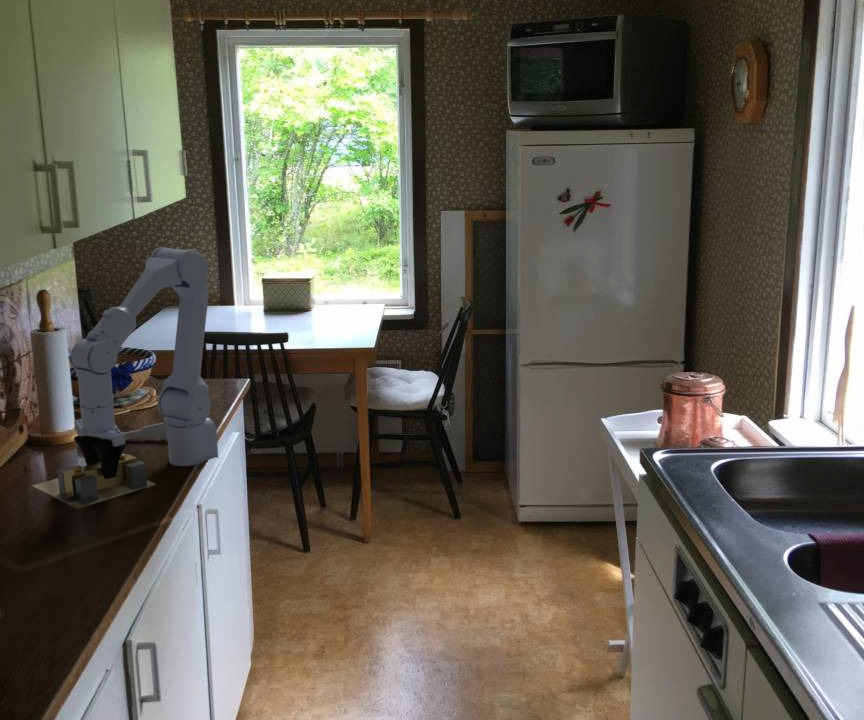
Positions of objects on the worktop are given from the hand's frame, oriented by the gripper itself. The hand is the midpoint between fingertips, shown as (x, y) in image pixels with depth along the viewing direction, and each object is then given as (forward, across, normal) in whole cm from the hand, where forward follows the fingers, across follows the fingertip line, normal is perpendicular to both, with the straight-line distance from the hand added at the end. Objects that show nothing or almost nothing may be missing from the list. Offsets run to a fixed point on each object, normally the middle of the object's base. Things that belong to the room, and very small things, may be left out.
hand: (102, 474), depth 169 cm
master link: (+2, 0, 0) cm, 2 cm away
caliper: (+4, -23, +19) cm, 30 cm away
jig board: (+4, -4, 0) cm, 5 cm away
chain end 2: (+3, 0, +5) cm, 6 cm away
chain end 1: (+3, 0, -5) cm, 6 cm away
